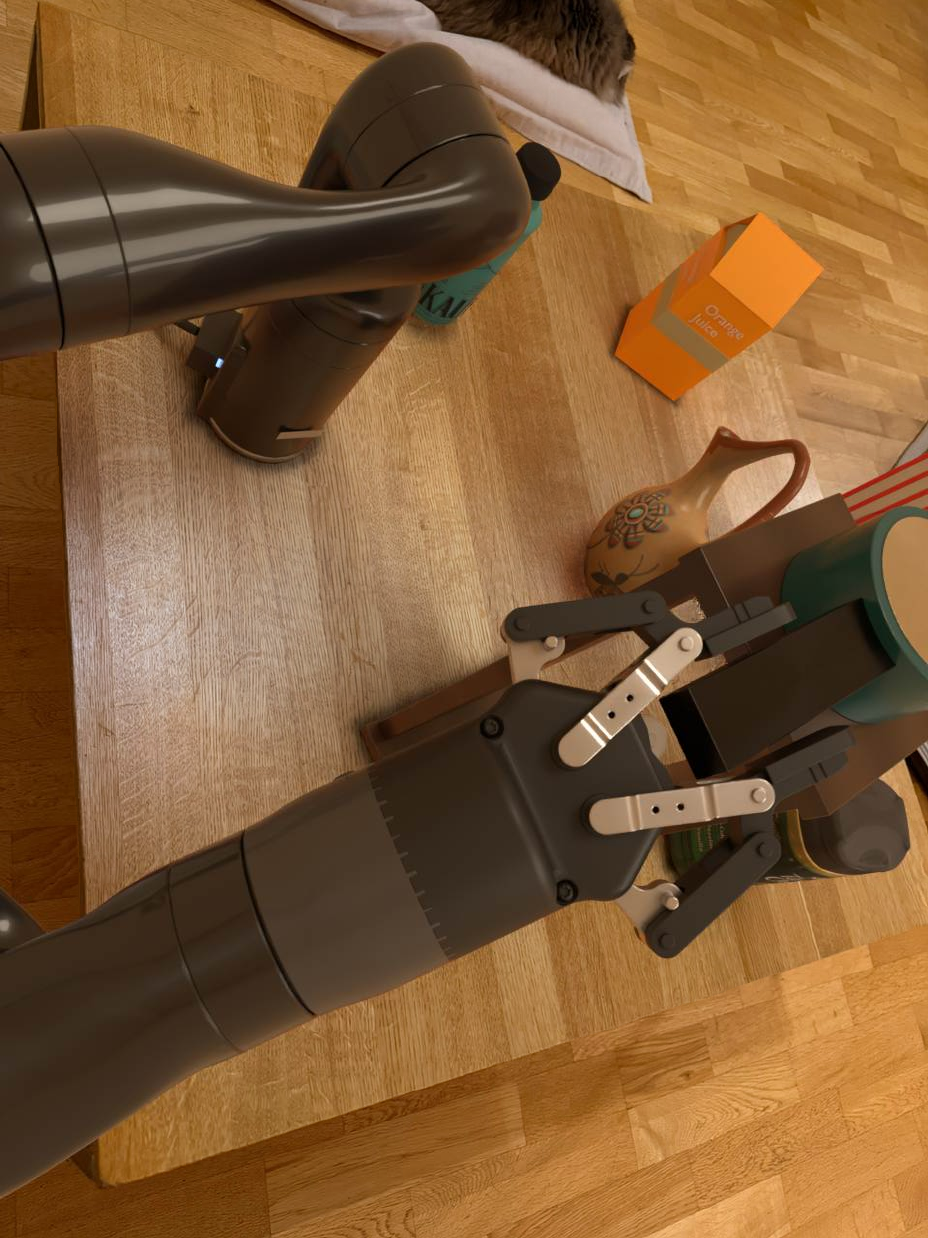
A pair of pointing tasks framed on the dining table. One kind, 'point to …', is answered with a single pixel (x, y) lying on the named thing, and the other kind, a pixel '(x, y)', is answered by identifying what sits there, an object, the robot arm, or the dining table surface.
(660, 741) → the smooth white sculpture
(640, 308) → the orange juice
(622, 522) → the ceramic vessel
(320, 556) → the dining table surface
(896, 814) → the coffee jar
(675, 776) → the shelf stand
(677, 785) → the robot arm
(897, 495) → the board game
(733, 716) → the milk pan
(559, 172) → the beverage bottle
